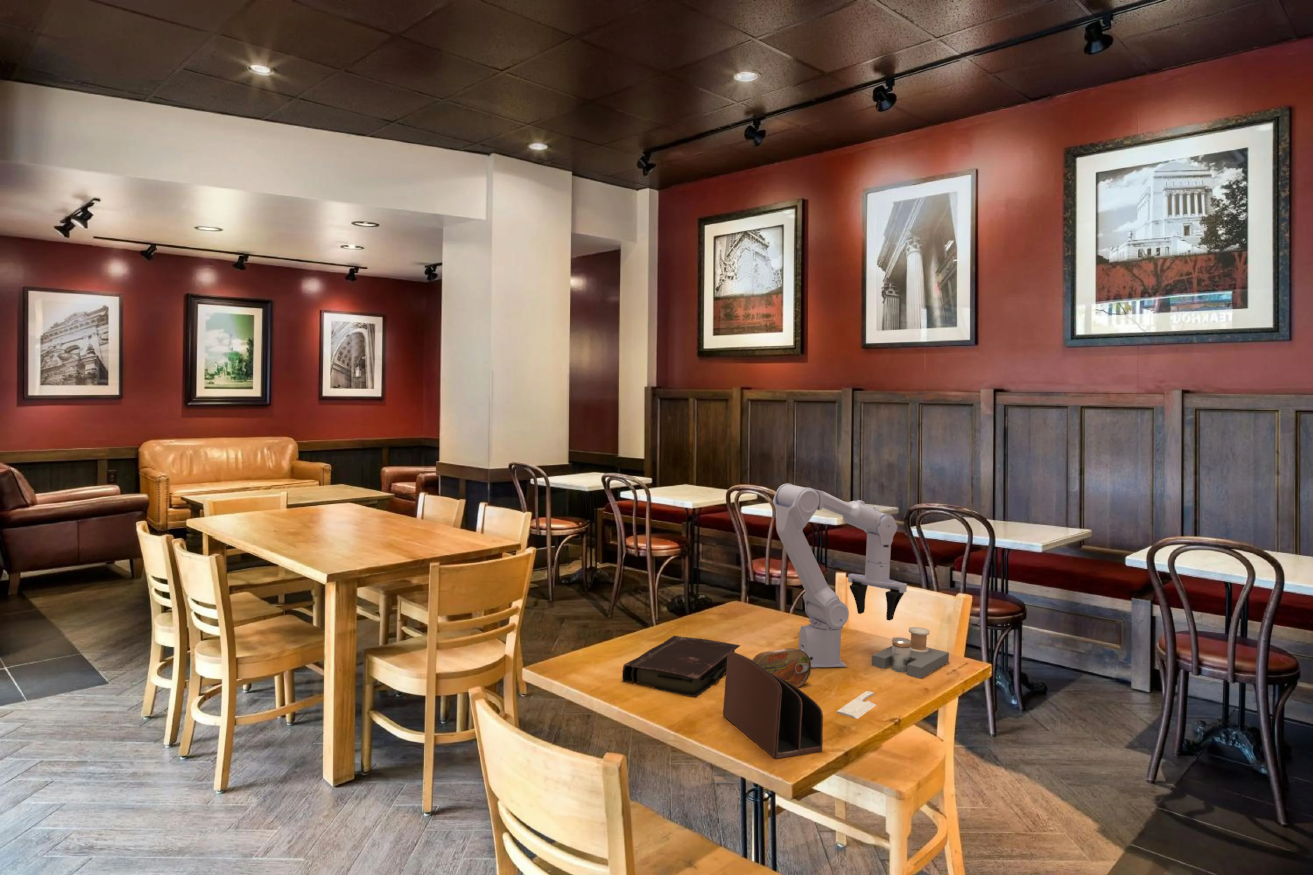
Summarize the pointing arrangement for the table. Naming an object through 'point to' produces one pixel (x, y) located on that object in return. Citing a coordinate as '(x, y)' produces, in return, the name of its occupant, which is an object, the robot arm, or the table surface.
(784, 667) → the tin
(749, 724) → the letter holder
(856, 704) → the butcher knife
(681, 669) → the diary
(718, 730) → the table surface
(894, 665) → the peg
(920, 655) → the notched board
